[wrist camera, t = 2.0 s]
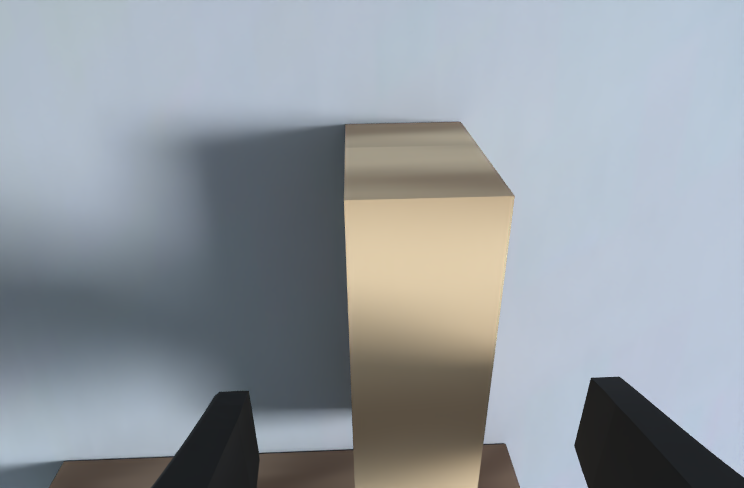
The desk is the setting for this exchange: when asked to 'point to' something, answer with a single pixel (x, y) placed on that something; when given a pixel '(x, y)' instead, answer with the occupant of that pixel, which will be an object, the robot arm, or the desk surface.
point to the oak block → (421, 300)
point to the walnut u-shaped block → (266, 471)
